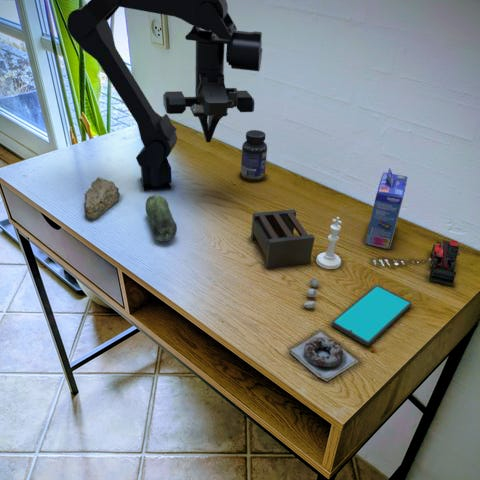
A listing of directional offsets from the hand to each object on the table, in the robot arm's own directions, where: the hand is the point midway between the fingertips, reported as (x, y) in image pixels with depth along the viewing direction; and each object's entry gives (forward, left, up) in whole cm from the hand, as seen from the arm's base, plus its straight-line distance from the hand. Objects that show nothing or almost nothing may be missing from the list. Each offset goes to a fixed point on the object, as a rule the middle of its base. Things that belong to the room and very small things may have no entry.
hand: (208, 141), depth 110 cm
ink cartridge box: (+32, -27, -12) cm, 43 cm away
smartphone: (+17, -51, -12) cm, 55 cm away
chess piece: (+17, -34, -12) cm, 40 cm away
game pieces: (+10, -44, -11) cm, 46 cm away
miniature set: (+31, -37, -13) cm, 50 cm away
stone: (-27, -2, -8) cm, 28 cm away
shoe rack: (+8, -28, -12) cm, 31 cm away
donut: (+5, -58, -12) cm, 59 cm away
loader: (+39, -40, -12) cm, 57 cm away
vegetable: (-16, -15, -10) cm, 24 cm away
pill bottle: (+13, +5, -12) cm, 19 cm away
